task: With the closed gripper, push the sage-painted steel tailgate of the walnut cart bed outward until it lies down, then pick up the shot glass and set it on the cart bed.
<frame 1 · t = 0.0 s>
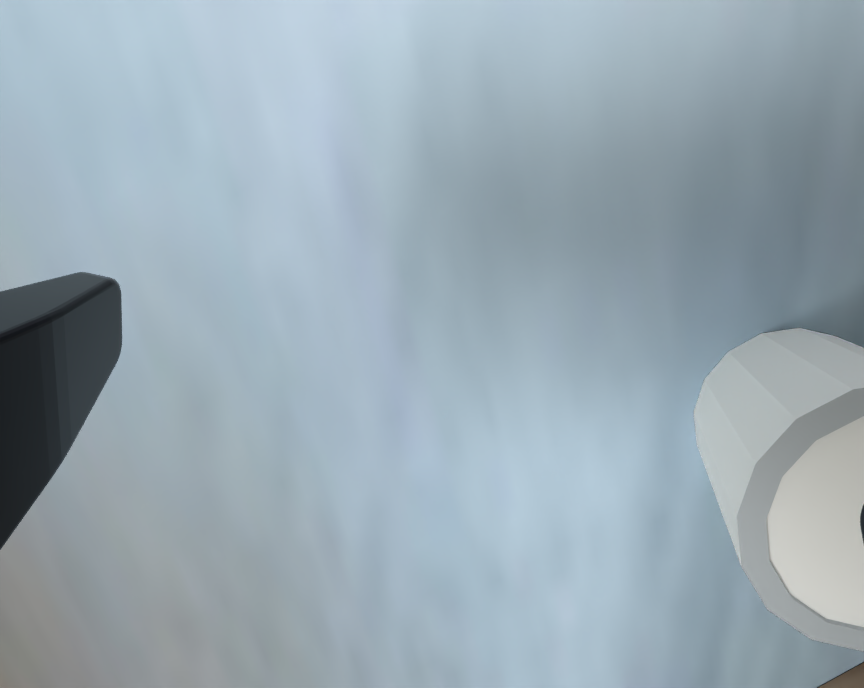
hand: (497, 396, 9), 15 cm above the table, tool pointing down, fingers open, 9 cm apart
shot glass: (783, 413, 25), on the table
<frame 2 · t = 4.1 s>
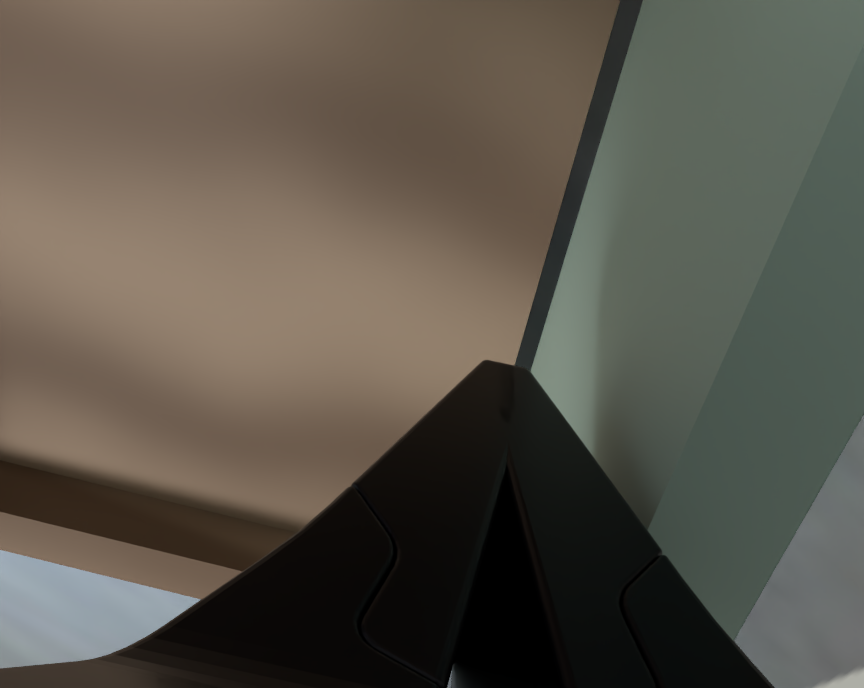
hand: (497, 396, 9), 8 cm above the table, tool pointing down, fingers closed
cart bed: (225, 104, 17), on the table
tailgate: (634, 361, 11), point 7 cm above the table, hinge at 3.0°, touching gripper
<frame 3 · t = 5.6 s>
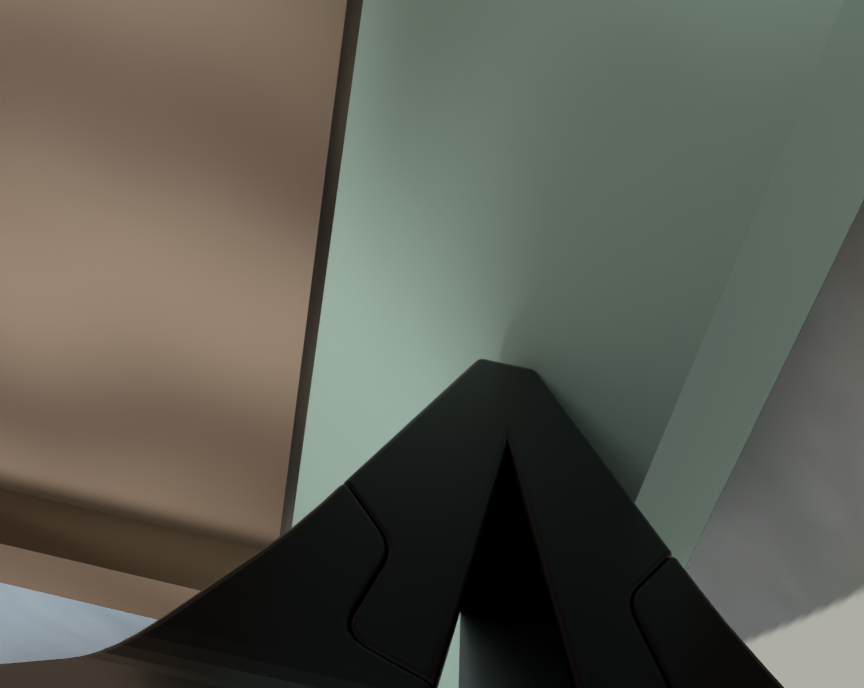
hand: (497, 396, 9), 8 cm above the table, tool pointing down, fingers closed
cart bed: (10, 66, 16), on the table
tailgate: (480, 311, 11), point 6 cm above the table, hinge at 33.4°, touching gripper
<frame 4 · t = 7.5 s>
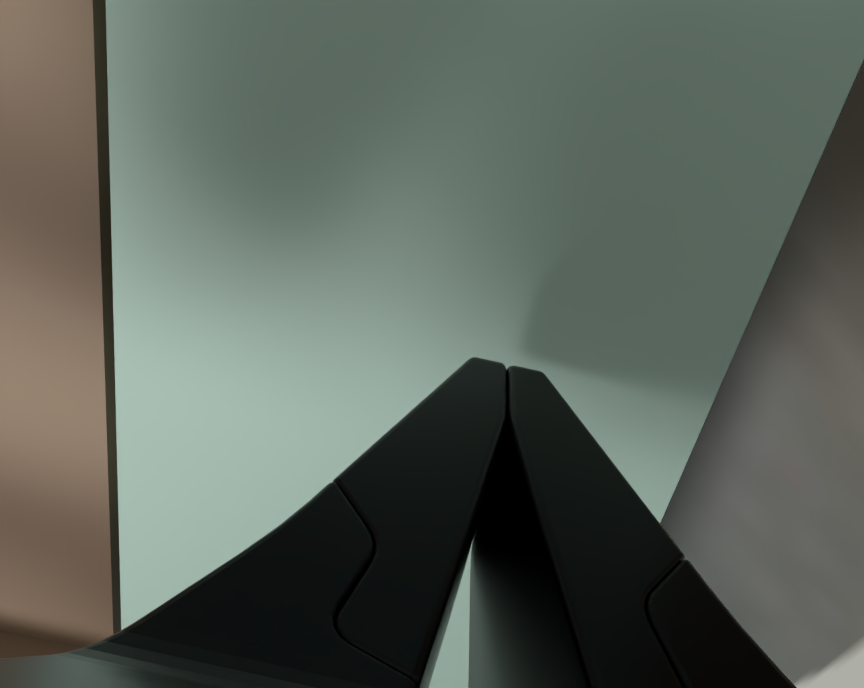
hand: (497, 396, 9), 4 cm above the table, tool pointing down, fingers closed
tailgate: (412, 304, 11), point 3 cm above the table, hinge at 85.0°
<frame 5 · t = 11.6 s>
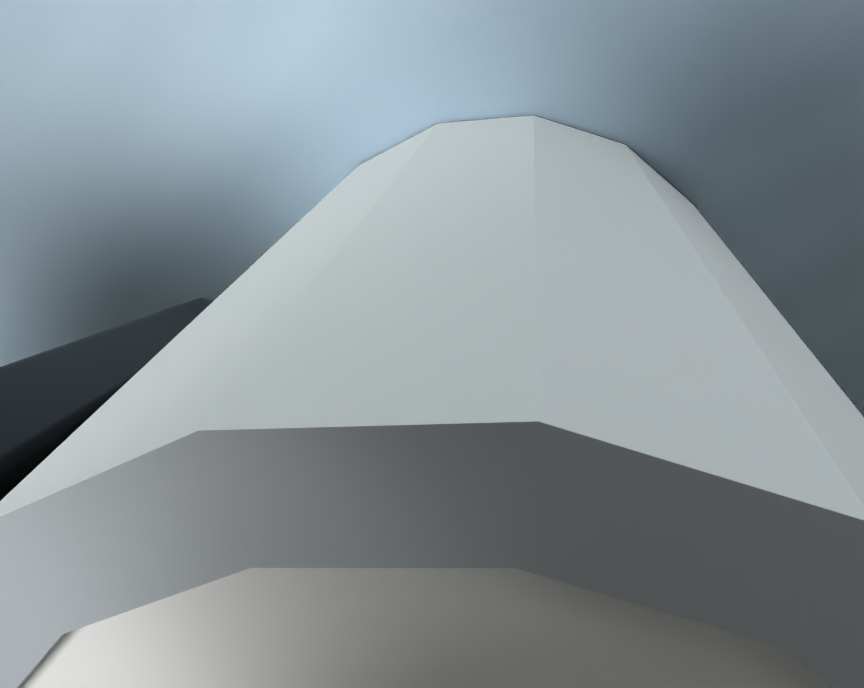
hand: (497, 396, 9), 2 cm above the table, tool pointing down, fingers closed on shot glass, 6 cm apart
shot glass: (503, 323, 11), on the table, touching gripper
when the fingers open (5 cm above the table, at t = 15.3 s): shot glass stays where it is, resting on cart bed.
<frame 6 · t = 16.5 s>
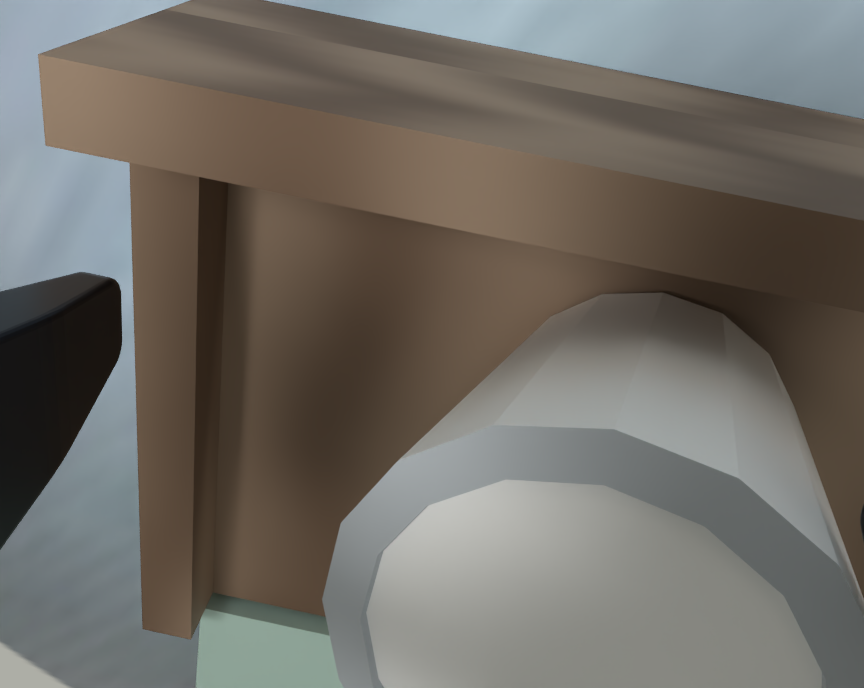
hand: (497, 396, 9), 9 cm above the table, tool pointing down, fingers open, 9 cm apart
cart bed: (619, 387, 19), on the table
shot glass: (640, 423, 16), point 3 cm above the table, touching cart bed
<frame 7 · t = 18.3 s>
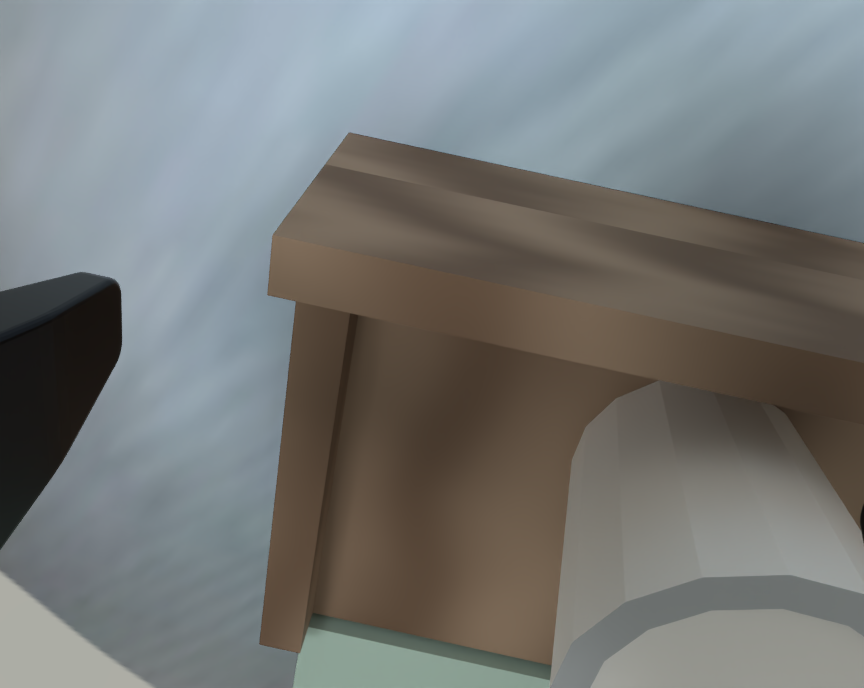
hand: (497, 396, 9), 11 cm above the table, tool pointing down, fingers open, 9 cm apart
cart bed: (660, 445, 23), on the table
shot glass: (683, 466, 21), point 2 cm above the table, touching cart bed
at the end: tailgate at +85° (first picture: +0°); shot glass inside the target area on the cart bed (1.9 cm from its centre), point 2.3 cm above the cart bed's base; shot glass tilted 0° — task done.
